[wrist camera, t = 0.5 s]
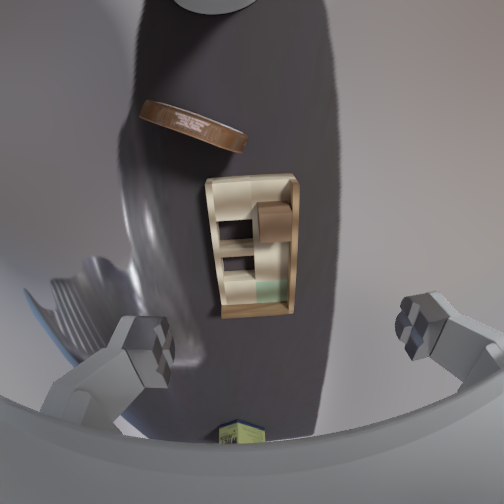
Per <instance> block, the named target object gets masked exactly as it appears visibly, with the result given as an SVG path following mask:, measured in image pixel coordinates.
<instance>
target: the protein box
mask: <svg viewBox="0 0 504 504" xmlns="http://www.w3.org/2000/svg"><path fill="white" fill-rule="evenodd" d="M261 442H265V429H264V428H262V427H259V426H256V425H253V424H250V423H247V422H244V421H241V420H239V419H238V420H235V421H232V422H229V423H226V424H222V425H219V444H242V443H261Z"/></svg>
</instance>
